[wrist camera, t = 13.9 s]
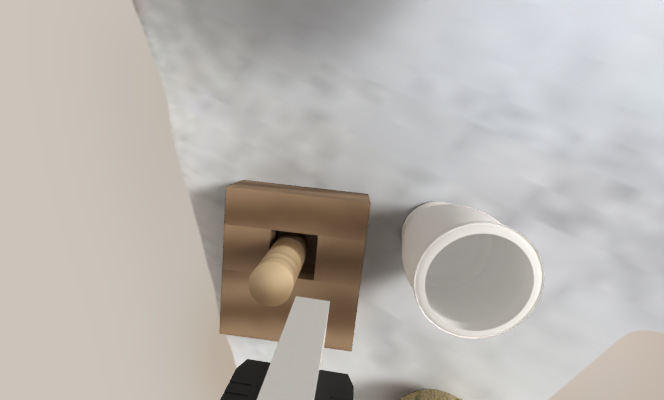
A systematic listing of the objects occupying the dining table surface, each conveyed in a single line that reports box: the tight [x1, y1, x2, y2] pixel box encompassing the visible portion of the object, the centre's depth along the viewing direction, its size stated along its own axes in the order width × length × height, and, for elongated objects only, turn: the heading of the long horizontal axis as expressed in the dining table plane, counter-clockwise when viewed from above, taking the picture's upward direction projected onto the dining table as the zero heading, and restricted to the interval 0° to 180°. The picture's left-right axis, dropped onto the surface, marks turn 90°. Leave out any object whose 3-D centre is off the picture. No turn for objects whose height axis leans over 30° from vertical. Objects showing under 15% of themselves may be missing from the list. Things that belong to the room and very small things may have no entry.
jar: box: [401, 201, 544, 339], centre depth 35 cm, size 11×10×15 cm
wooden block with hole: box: [220, 180, 370, 351], centre depth 41 cm, size 18×16×6 cm
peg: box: [248, 232, 308, 307], centre depth 35 cm, size 4×4×12 cm
